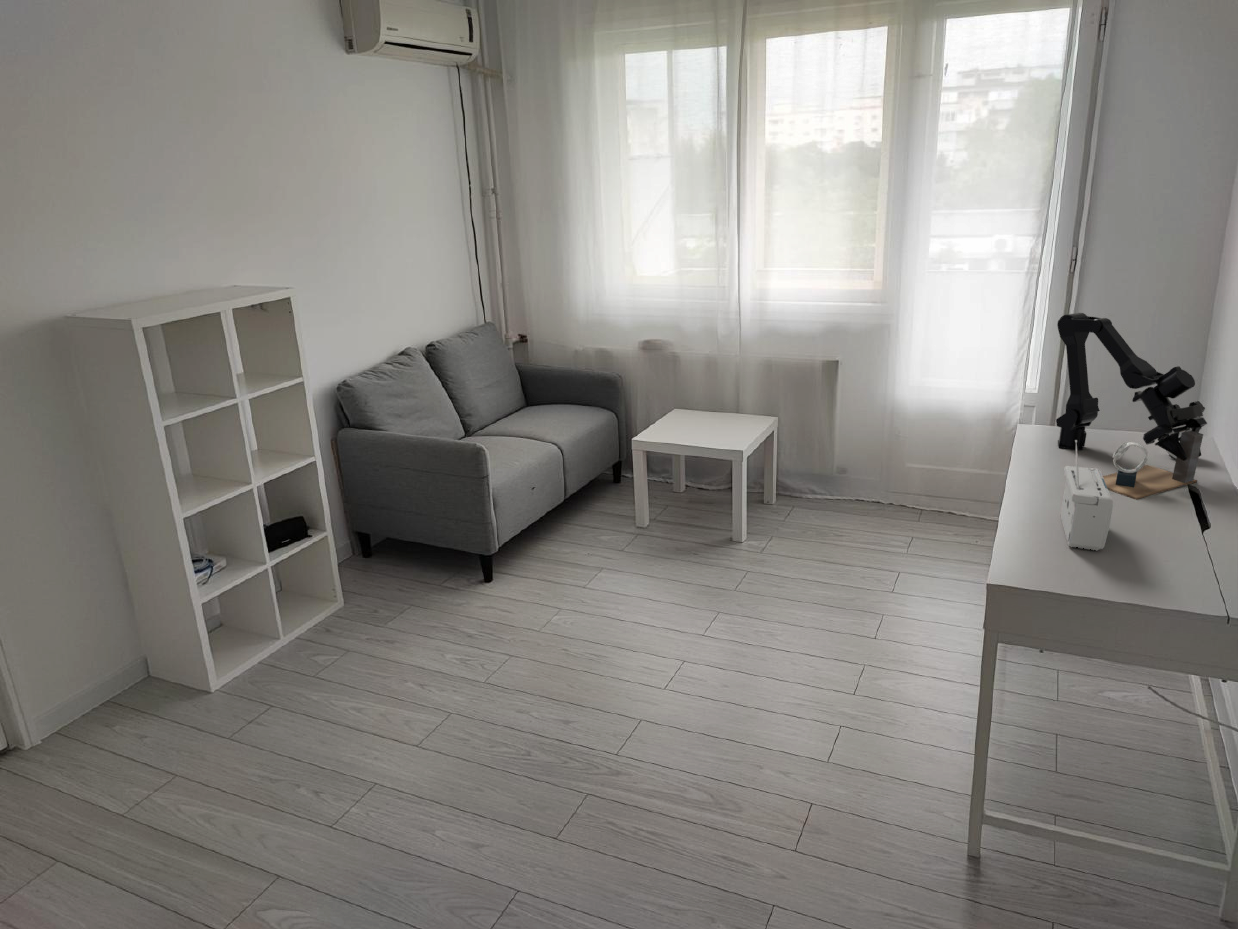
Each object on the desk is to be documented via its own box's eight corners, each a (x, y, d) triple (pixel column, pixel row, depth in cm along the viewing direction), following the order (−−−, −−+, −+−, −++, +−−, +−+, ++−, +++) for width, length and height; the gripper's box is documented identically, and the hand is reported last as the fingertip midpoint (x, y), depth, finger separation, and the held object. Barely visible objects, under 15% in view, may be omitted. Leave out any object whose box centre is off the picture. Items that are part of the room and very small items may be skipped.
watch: (1108, 476, 240) (1115, 438, 236) (1142, 482, 236) (1150, 442, 232) (1107, 483, 235) (1114, 444, 232) (1141, 488, 231) (1149, 448, 228)
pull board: (1086, 482, 238) (1095, 433, 233) (1146, 466, 249) (1155, 420, 244) (1136, 499, 226) (1146, 448, 222) (1196, 482, 237) (1207, 433, 232)
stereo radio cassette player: (1105, 554, 197) (1121, 469, 190) (1064, 549, 199) (1078, 465, 193) (1093, 519, 215) (1107, 440, 208) (1055, 514, 218) (1068, 437, 211)
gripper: (1162, 396, 228) (1196, 449, 223) (1207, 387, 236) (1241, 438, 231) (1128, 418, 238) (1160, 469, 232) (1172, 408, 246) (1204, 457, 240)
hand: (1192, 458), depth 234 cm, fingers open, 6 cm apart
